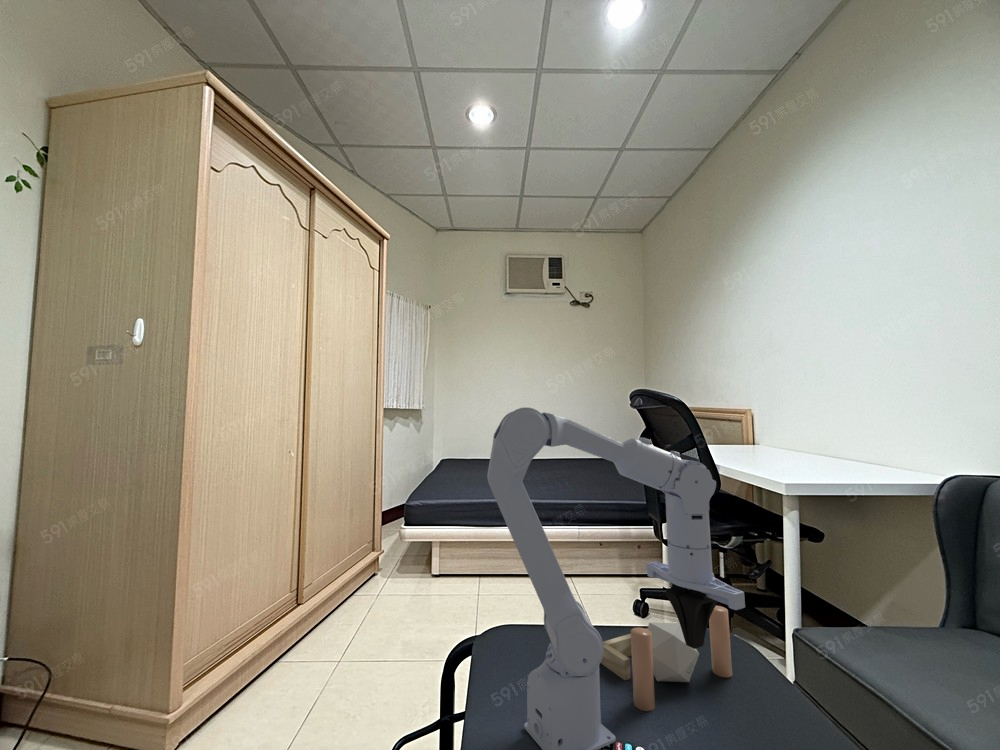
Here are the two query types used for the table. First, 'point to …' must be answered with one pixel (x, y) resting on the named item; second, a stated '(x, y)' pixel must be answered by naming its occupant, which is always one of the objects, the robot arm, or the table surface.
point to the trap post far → (720, 642)
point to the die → (671, 653)
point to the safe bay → (618, 655)
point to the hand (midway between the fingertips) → (694, 645)
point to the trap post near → (642, 669)
